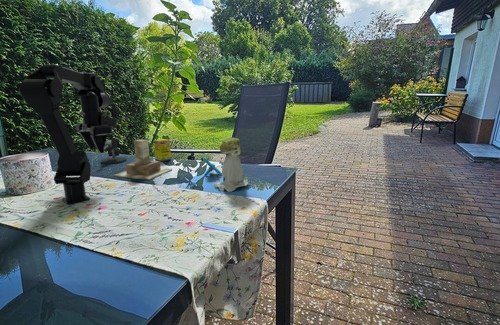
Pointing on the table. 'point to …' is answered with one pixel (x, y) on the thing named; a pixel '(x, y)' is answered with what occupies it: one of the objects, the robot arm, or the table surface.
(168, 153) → the supplement box
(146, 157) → the peg
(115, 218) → the table surface
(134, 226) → the table surface
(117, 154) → the gun turret
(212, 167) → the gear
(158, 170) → the socket
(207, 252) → the table surface
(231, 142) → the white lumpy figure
